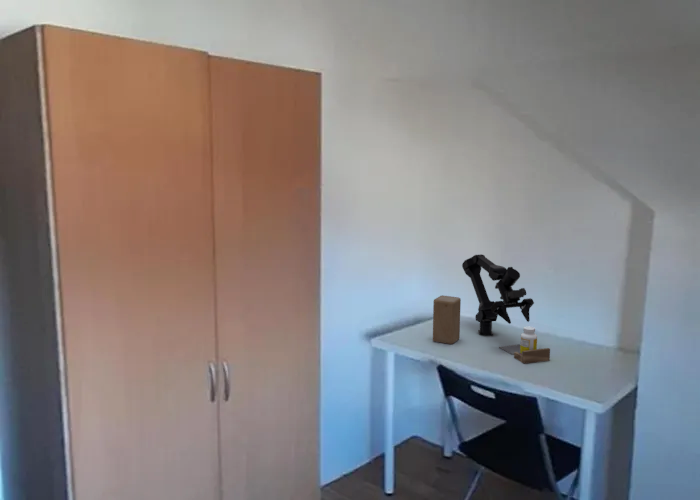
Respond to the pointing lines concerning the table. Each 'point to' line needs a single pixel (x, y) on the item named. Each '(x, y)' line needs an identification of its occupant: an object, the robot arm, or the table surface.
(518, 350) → the pad
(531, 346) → the supplement bottle
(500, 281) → the robot arm
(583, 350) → the table surface
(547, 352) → the shelf lane
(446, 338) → the wooden block
